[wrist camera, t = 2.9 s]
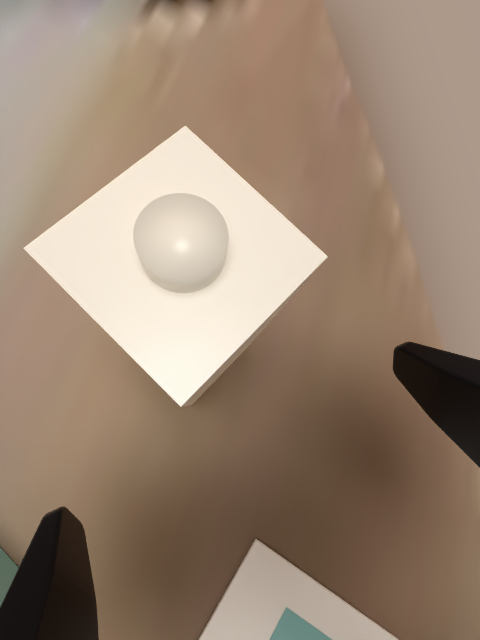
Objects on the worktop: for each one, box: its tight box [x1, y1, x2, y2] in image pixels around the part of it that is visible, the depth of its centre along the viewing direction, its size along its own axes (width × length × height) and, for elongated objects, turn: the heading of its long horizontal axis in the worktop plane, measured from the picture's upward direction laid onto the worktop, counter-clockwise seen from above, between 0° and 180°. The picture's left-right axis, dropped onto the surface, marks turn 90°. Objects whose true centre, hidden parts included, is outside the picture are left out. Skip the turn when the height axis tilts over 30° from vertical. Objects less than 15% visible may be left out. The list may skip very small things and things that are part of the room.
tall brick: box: [24, 126, 328, 407], centre depth 13 cm, size 4×4×14 cm
